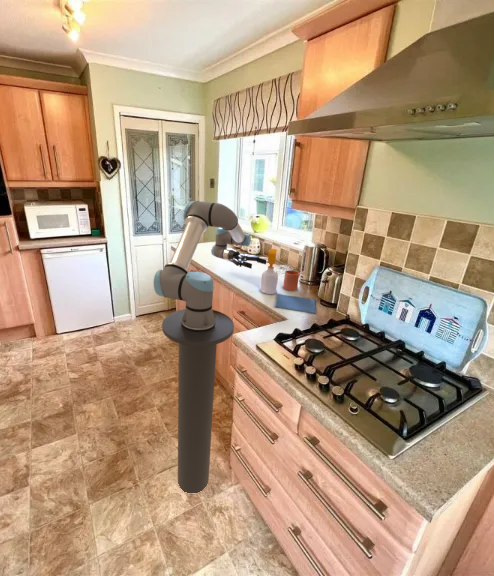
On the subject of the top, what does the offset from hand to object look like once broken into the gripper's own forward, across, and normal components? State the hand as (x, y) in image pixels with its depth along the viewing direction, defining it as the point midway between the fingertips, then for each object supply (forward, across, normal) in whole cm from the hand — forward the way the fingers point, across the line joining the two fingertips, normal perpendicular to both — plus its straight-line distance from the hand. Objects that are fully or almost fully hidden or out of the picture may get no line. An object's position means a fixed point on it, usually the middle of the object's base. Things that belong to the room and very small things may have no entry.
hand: (258, 264), depth 176 cm
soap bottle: (+8, 0, -14) cm, 17 cm away
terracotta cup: (+14, -15, -14) cm, 25 cm away
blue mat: (+28, +2, -14) cm, 32 cm away
